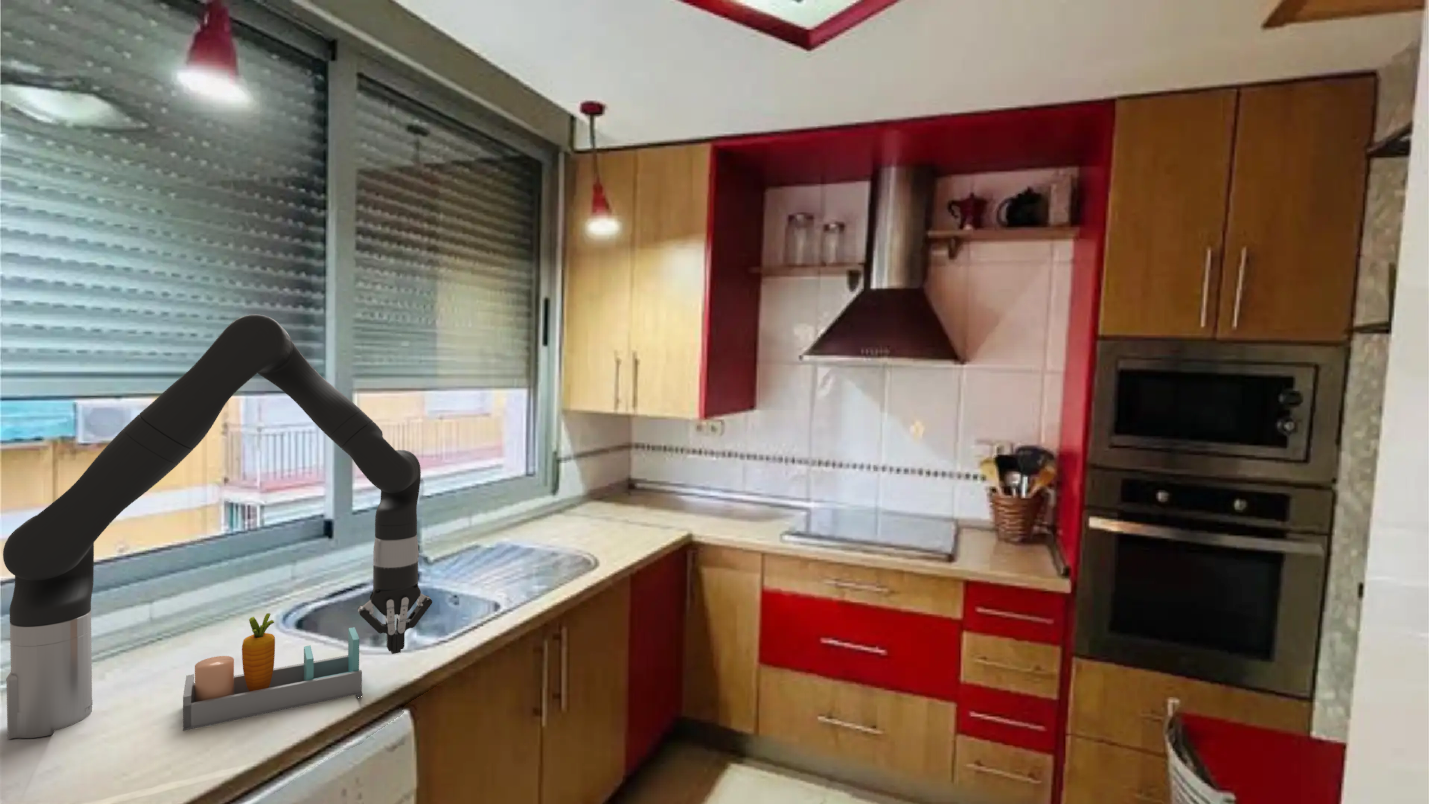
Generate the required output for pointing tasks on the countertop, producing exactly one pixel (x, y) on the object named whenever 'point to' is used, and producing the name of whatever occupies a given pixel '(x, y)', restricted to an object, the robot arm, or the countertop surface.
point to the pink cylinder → (214, 678)
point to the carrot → (258, 655)
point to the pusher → (352, 656)
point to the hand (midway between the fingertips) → (395, 651)
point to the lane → (273, 693)
